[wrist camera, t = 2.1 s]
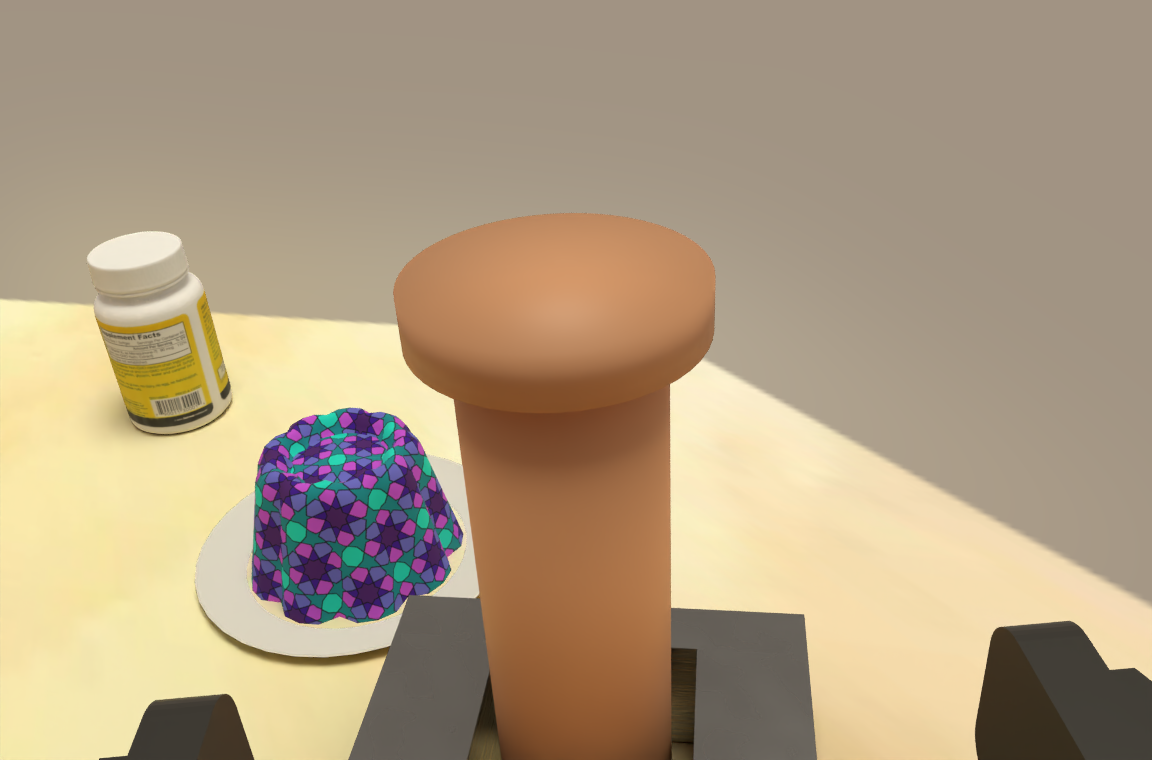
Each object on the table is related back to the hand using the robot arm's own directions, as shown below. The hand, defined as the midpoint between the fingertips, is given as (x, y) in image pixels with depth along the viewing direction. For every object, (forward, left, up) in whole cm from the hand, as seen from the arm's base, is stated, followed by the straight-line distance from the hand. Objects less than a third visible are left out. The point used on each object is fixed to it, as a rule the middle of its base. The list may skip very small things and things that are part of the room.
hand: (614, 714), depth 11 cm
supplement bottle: (-24, +32, -18) cm, 44 cm away
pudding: (-13, +22, -18) cm, 31 cm away
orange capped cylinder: (-2, +11, -17) cm, 21 cm away
